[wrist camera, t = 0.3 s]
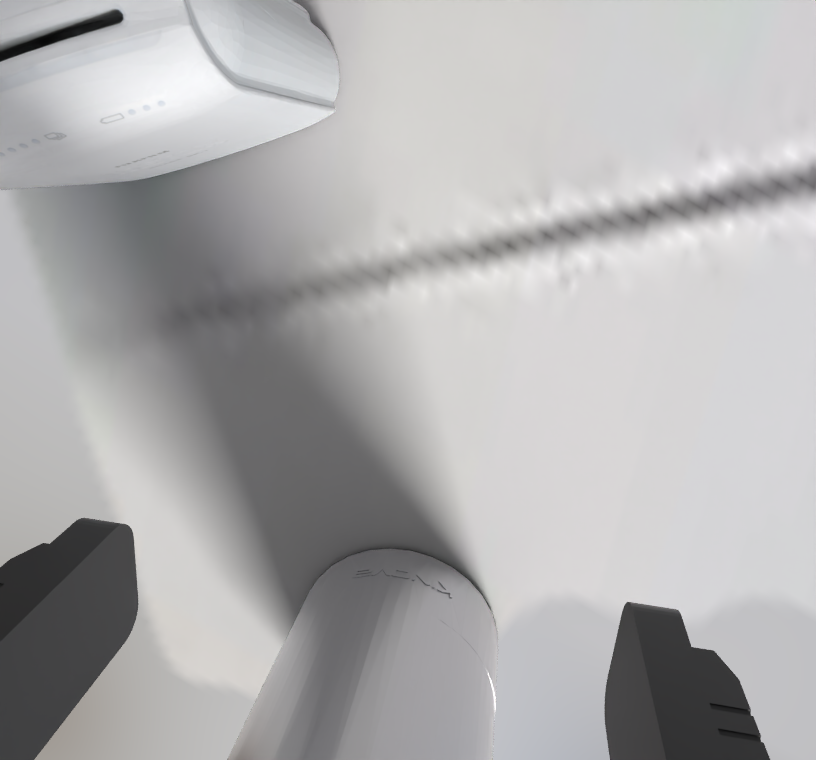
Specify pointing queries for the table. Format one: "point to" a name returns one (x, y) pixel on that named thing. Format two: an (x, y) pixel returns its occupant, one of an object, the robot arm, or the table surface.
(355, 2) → the table surface
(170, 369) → the table surface
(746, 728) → the robot arm
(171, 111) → the photo printer
